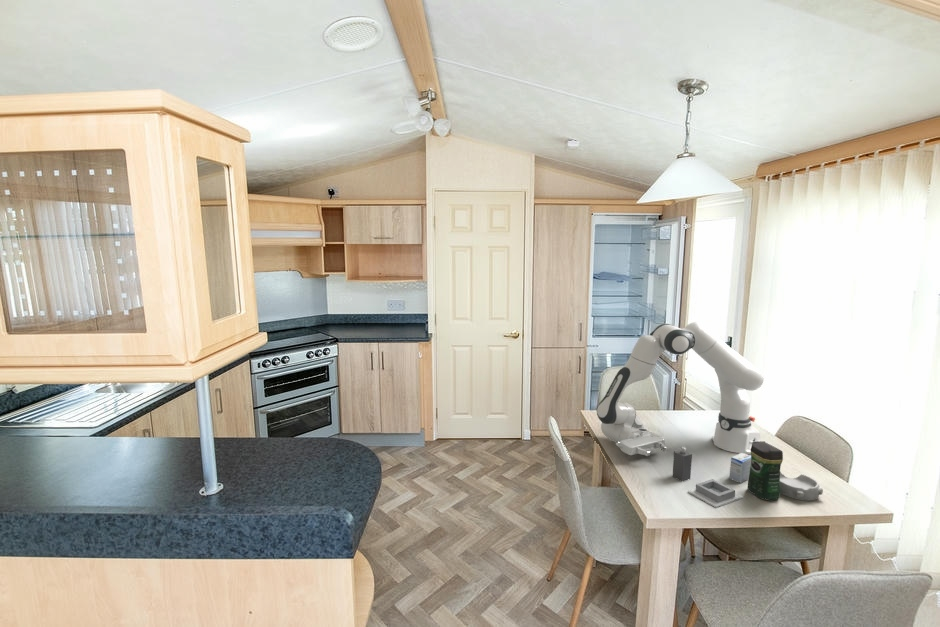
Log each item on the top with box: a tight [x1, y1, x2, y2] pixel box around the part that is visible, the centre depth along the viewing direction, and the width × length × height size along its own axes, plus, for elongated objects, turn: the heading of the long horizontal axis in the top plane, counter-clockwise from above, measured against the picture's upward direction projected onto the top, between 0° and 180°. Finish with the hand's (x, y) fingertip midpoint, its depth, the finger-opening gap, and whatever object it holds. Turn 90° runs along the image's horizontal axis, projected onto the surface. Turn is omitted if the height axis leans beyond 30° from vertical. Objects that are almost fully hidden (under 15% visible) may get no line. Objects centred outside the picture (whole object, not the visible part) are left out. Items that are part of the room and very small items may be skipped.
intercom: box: [632, 414, 645, 429], centre depth 229 cm, size 13×4×25 cm
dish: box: [780, 471, 824, 501], centre depth 163 cm, size 14×14×5 cm
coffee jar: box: [747, 440, 784, 501], centre depth 160 cm, size 10×8×19 cm
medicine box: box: [728, 453, 751, 484], centre depth 172 cm, size 8×4×9 cm, turn 123°
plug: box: [672, 446, 693, 482], centre depth 172 cm, size 4×4×12 cm
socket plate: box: [687, 478, 743, 509], centre depth 161 cm, size 14×11×3 cm
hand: (657, 451), depth 183 cm, fingers open, 8 cm apart
